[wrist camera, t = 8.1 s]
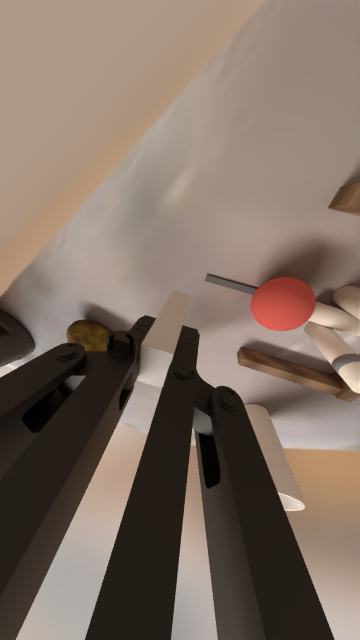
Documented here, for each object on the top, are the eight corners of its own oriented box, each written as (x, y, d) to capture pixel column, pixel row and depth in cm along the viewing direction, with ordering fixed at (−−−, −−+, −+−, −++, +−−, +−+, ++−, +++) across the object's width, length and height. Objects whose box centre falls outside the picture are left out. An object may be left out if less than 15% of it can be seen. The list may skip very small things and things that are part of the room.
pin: (299, 331, 22) (342, 388, 14) (312, 317, 20) (367, 372, 13) (317, 337, 21) (370, 397, 14) (331, 323, 20) (398, 382, 13)
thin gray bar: (205, 280, 20) (204, 280, 20) (206, 274, 20) (206, 275, 20) (263, 297, 20) (263, 297, 20) (266, 291, 20) (267, 292, 19)
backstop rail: (236, 353, 26) (238, 367, 23) (340, 187, 14) (368, 179, 11) (337, 384, 25) (350, 402, 22) (547, 236, 13) (628, 240, 10)
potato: (110, 311, 27) (75, 339, 20) (138, 362, 33) (118, 396, 26) (76, 316, 29) (35, 343, 23) (107, 363, 36) (82, 394, 29)
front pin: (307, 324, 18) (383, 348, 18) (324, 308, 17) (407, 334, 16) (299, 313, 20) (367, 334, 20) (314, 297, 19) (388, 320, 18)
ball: (299, 333, 19) (256, 308, 22) (337, 289, 15) (279, 268, 19) (280, 349, 15) (233, 317, 19) (323, 295, 12) (256, 269, 15)
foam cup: (223, 403, 34) (225, 484, 24) (266, 396, 30) (292, 491, 19) (241, 424, 38) (250, 505, 27) (282, 421, 33) (312, 515, 23)
